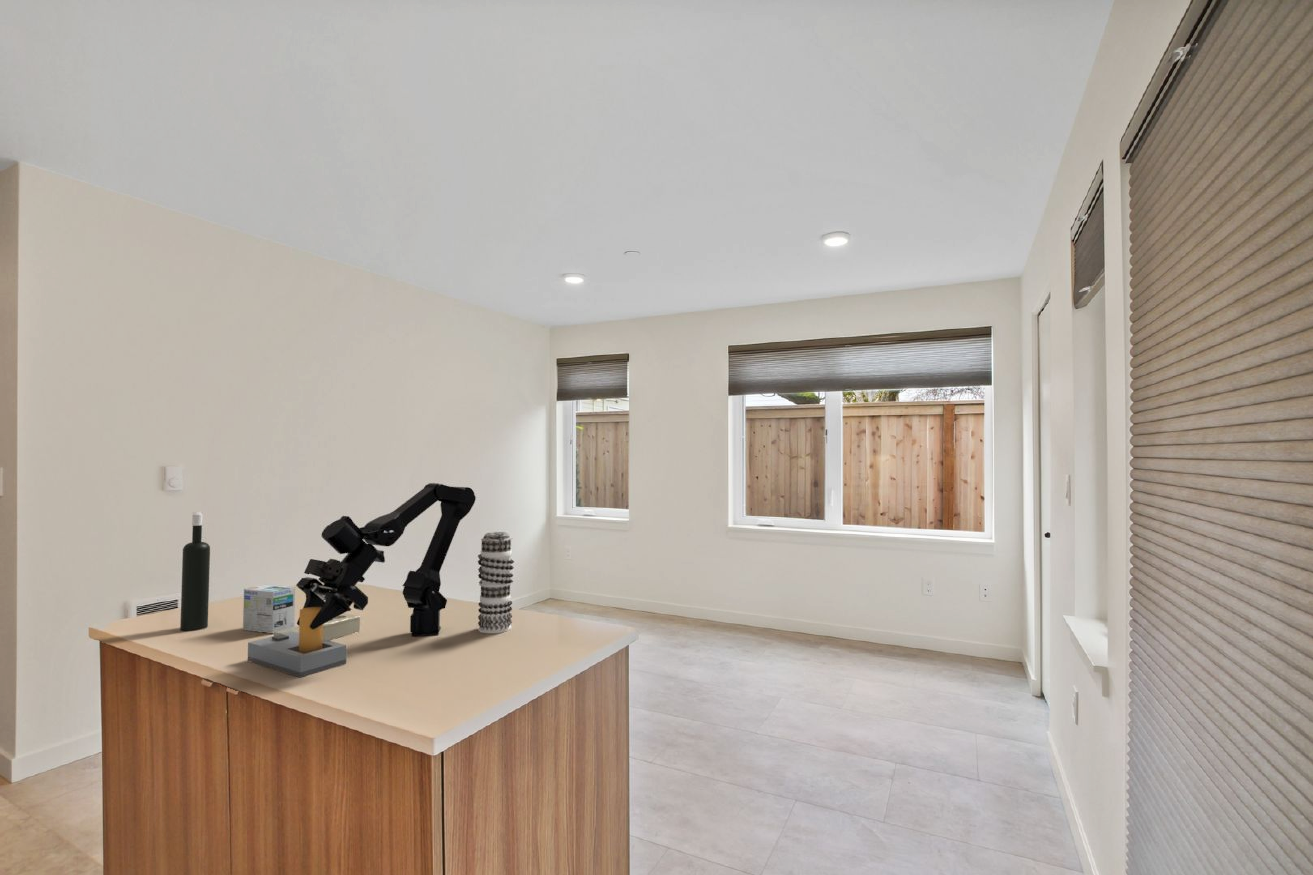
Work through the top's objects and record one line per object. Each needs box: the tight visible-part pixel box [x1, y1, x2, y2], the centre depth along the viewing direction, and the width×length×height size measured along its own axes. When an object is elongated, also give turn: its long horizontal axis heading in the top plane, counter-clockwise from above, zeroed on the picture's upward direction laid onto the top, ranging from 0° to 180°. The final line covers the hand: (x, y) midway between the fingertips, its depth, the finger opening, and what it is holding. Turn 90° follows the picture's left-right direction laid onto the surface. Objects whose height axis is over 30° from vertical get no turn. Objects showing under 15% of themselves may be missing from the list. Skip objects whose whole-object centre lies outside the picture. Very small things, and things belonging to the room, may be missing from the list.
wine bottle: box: [179, 511, 211, 632], centre depth 164 cm, size 6×6×30 cm
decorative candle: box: [477, 531, 515, 634], centre depth 165 cm, size 9×9×25 cm
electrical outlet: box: [273, 612, 361, 641], centre depth 155 cm, size 7×4×18 cm
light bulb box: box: [242, 584, 296, 634], centre depth 163 cm, size 11×7×11 cm, turn 71°
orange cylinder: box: [298, 607, 323, 654], centre depth 135 cm, size 4×4×10 cm
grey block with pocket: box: [247, 632, 347, 678], centre depth 137 cm, size 20×10×5 cm, turn 60°
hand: (304, 626), depth 133 cm, fingers closed on orange cylinder, 4 cm apart
